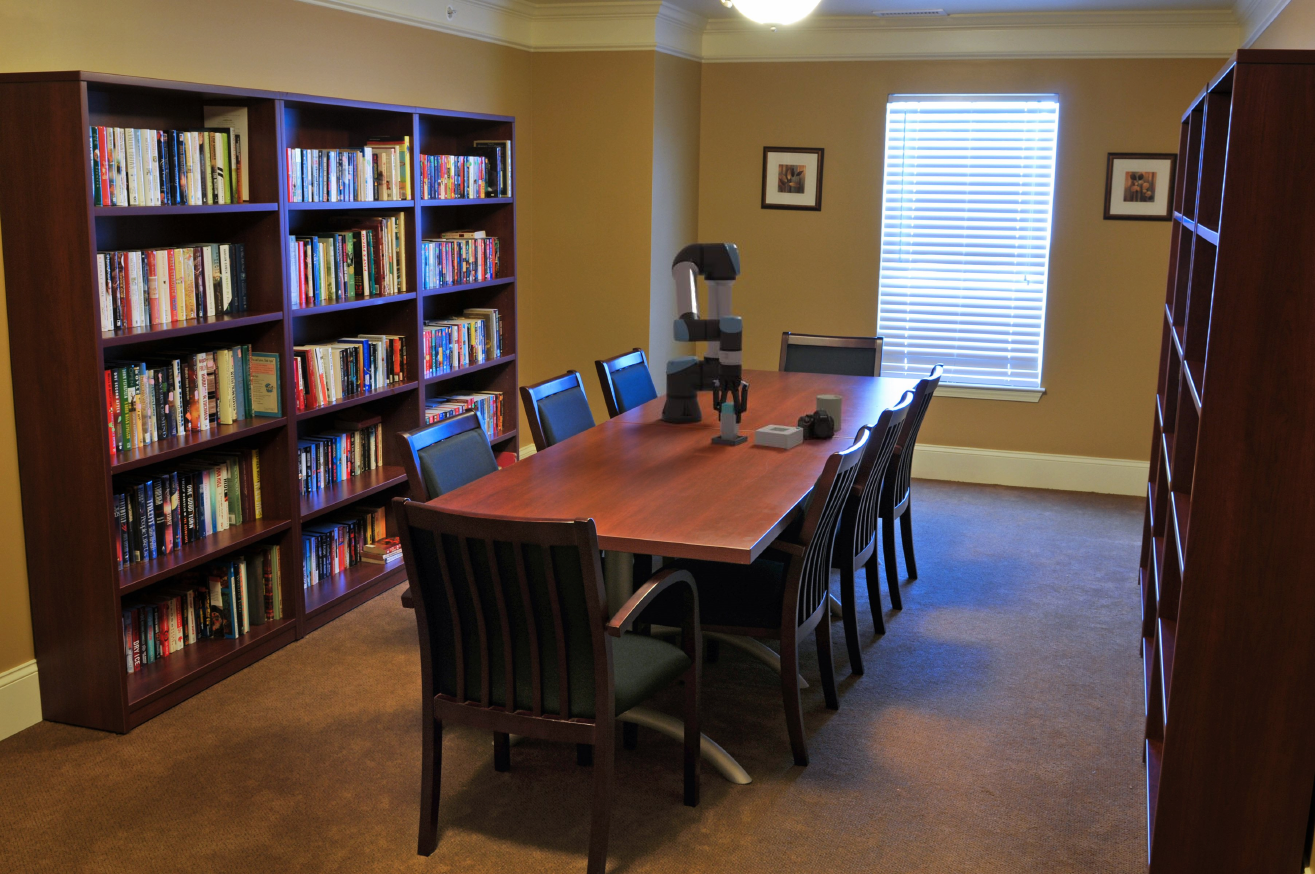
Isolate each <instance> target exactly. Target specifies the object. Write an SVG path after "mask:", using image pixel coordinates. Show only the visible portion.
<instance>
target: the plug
mask: <svg viewBox="0 0 1315 874" xmlns="http://www.w3.org/2000/svg"><path fill="white" fill-rule="evenodd" d="M734 413H735V408H734V402H733V401H731V402H730V401H726V403H723V404H722V432H720V435H721V439H728V440H736V439H737V438H738V435H739V432H738V433H736V434H733V414H734Z"/></svg>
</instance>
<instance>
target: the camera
mask: <svg viewBox="0 0 1315 874" xmlns="http://www.w3.org/2000/svg"><path fill="white" fill-rule="evenodd" d="M797 427H801V428H803V441H807V440H810V439H830V438H833V437H834V436H835V431H834V419H833V418H832V416H829V415H828V414H827V412H826V411H825V410H824V409H821V410H820V409H817V411H814V412H813V413H807V414H805V415H801V416H799V418H798V419H797Z"/></svg>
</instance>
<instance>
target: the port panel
mask: <svg viewBox="0 0 1315 874" xmlns="http://www.w3.org/2000/svg"><path fill="white" fill-rule="evenodd" d="M803 441H804V439H803V428H801V427H798V426H788V425H787V426H785V425H777V424H776V425H775V424H769V425H766V426H764V427H761V428H759V429H758V428H757V429H756V430H754V445H756V446H757V445H758V446H765V447H766V446H767V447H771V448H772V447H773V448H781V449H782V448H783V450H791V449H792V448H794V447H796V446H799V445H801V444H803Z"/></svg>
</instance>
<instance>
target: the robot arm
mask: <svg viewBox="0 0 1315 874" xmlns="http://www.w3.org/2000/svg"><path fill="white" fill-rule="evenodd" d="M740 260H741V259H740V255H739V250H738V247H737V246H736V244H734V243H731V242H730V243H729V242H714V243H713V242H706V243H705V242H703V243H701V242H695V243H694V242H693V243H690V244H687V245H686V246H684V247H683V248H682V249H680V250H679V252H678V253H677V254H676V255H675V256H674V259H673V261H672V264H671V276H672V278H673V280H674V281H675V291H676V293H675V295H676V306H677V307H676V308H677V318H676V319H674V320H673V325H672V326H673V327H672V331H673V335H672V336H673V340H674V341H675V342H683V343H684V342H685V343H691V342H692V343H696V342H697V343H698V342H699V343H700V342H707V351H706V352H705V353H703V359H699V358H698V356H696V355H684V356H680V357H679V356H678V357H674V358H671V359H669V360H667V363H666V369H665V375H666V381H665V382H666V385H665V387H666V388H665V389H666V390H665V394H666V395H665V402H664V405H663V407H662V411H661V421H663V422H666V423H673V424H689V423H690V424H692V423H697V422H700V421H702V420H703V412H702V409H701V405H700V403H699V401H698V400H699V399H698V394H699V393H698V392H701V393H702V392H703V393H704V392H709V393H710V392H712V409H713V410H714V411H717V412H718V417H717V419H718V422H720V433H721V432H722V404H723V403H726V402H727V400H728V395H729V392H730V393H731V395H732V400H733V401H732V402H733V403H734V408H735V413H734V414H733V434H736V433H738V434H739V431H740V430H739V429H740V427H739V426H740V424H741V423H742V414H743V413H746V412H747V411H748V410H747V409H748V392H749V388H750V383H749V382H747V383H746V382H745V381H743V378H742V376H743V374H742V373H743V368H742V367H743V366H742V365H743V364H742V362H743V330H744V329H743V328H744V326H743V318H742V317H741V316H739V315H732V303H733V302H732V295H733V294H732V293H733V292H732V288H733V285H734V283H735V282H737V277H738V276H740V275H741V261H740ZM698 276H699V277H700V276H703V282H705V283H706V284H707V287H708V288H707V289H708V290H707V291H708V292H707V293H708V294H707V319H706V318H704V319H702V318H701V313H700V312H701V311H700V302H699V293H698V292H699V291H698V282H697V278H698ZM740 388H741V391H740ZM720 393H721V394H720Z"/></svg>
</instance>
